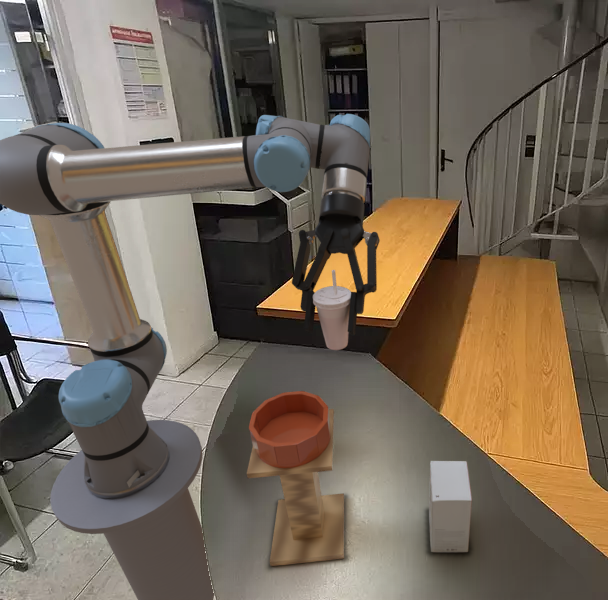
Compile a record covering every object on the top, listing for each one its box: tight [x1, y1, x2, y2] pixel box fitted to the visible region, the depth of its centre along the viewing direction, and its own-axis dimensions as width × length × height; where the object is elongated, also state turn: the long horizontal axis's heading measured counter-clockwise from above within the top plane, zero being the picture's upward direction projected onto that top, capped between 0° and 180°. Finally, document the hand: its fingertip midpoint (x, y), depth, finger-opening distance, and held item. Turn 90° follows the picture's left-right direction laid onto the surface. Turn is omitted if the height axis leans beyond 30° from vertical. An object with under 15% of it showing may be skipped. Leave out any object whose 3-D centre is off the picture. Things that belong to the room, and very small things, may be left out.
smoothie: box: [313, 269, 352, 351], centre depth 80 cm, size 6×6×14 cm
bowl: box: [248, 390, 331, 468], centre depth 73 cm, size 11×11×4 cm
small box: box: [428, 460, 473, 553], centre depth 81 cm, size 8×6×13 cm
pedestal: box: [246, 408, 345, 567], centre depth 79 cm, size 12×12×22 cm
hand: (329, 331), depth 78 cm, fingers closed on smoothie, 6 cm apart
